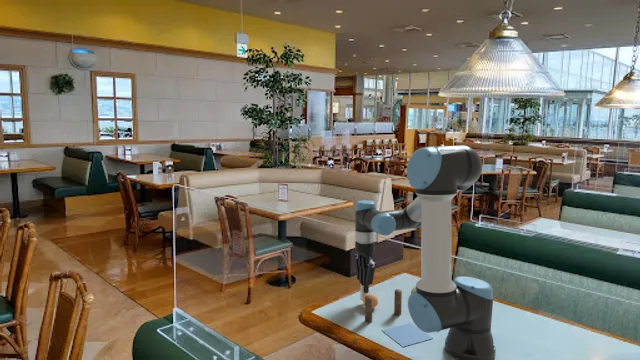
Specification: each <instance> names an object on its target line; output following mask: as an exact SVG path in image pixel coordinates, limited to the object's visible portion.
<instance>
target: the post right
mask: <svg viewBox="0 0 640 360" xmlns="http://www.w3.org/2000/svg"><path fill="white" fill-rule="evenodd" d="M402 294H403V290H402V289H394V306H393V308H394V309H393V314H394V315H395V316H402V302H403V301H402V299H403V298H402V297H403V296H402Z"/></svg>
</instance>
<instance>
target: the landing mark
mask: <svg viewBox="0 0 640 360" xmlns="http://www.w3.org/2000/svg"><path fill="white" fill-rule="evenodd" d="M381 332H383V333H384V334H385V335H387V336H388V337H389V338H391V339H392V340H393V341H395V343H397V344H398V343H399V344H400V345H399V344H398V345H399V346H401V347H402V345H403V347H402V348H405V347H404V346H406V347H409V346H413V345H416V344H419V343H422V342H426V341H427V342H428V341H430V340H433V337H431V336H430V335H429V334H427V333H426V332H423V331H422V330H420V329H419V328H418V327H417V326H416V325H414V324H413V323H411V322H408V323H403V324H400V325H396V326H393V327H390V328H389V327H388V328H384V329H381ZM408 345H409V346H408Z"/></svg>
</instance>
